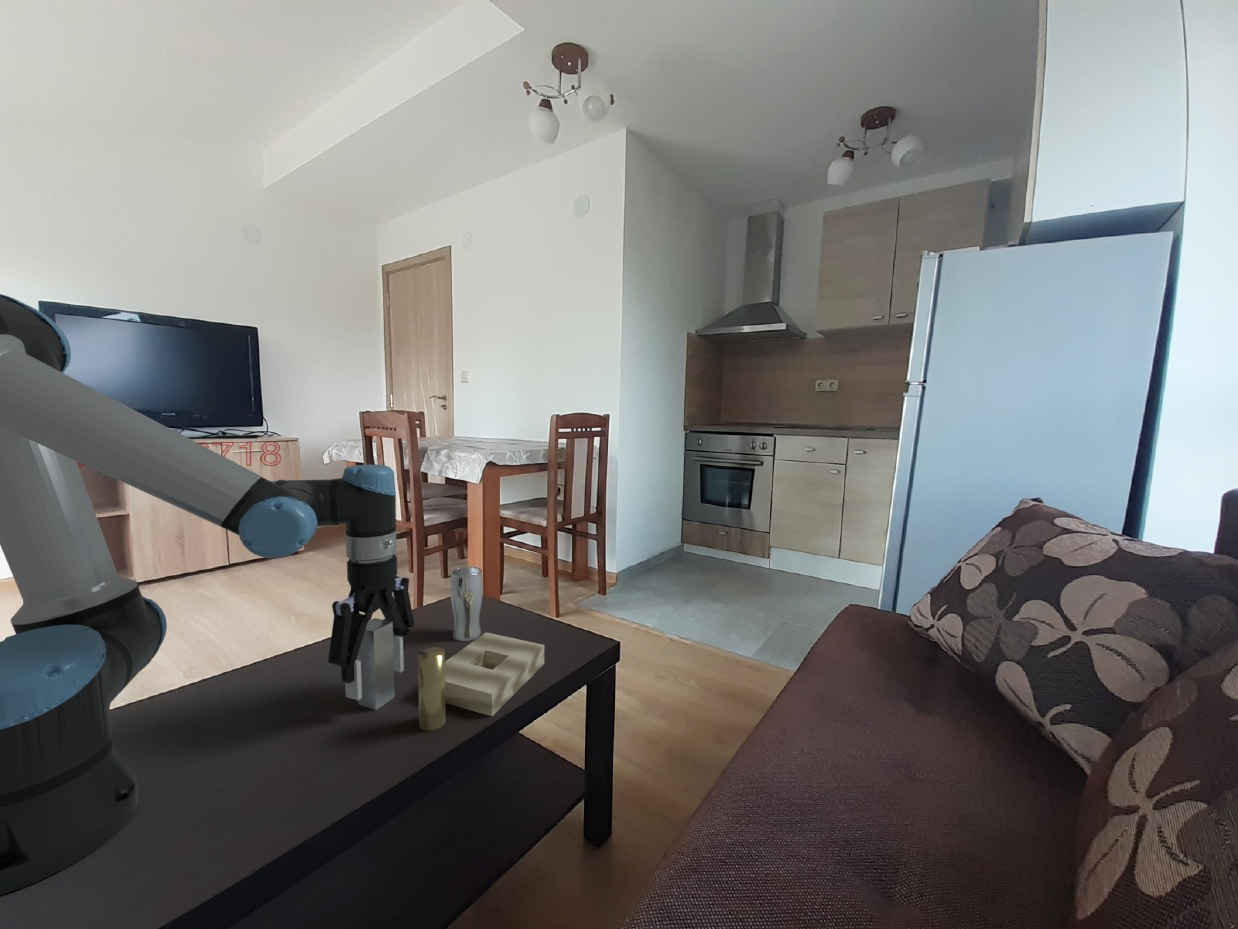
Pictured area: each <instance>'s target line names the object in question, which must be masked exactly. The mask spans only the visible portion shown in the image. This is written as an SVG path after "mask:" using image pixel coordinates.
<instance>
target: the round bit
mask: <svg viewBox="0 0 1238 929" xmlns="http://www.w3.org/2000/svg"><path fill="white" fill-rule="evenodd" d="M445 654H446V651H445V649H444V648H442V647H437V646H434V647H428V648H425V649H423V650H421V651H420V652H418V655H417V669H418V670H417V671H418V672H417V673H418V674H417V675H418V678H417V680H418V720H419V721H418V723H419V724H418V726H419V729H420V730H421V731H425V732H432V731H436V730H439V729H440V728H442V727H443V726H444V725H445V723H446V703H445V661H446V656H445Z"/></svg>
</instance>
